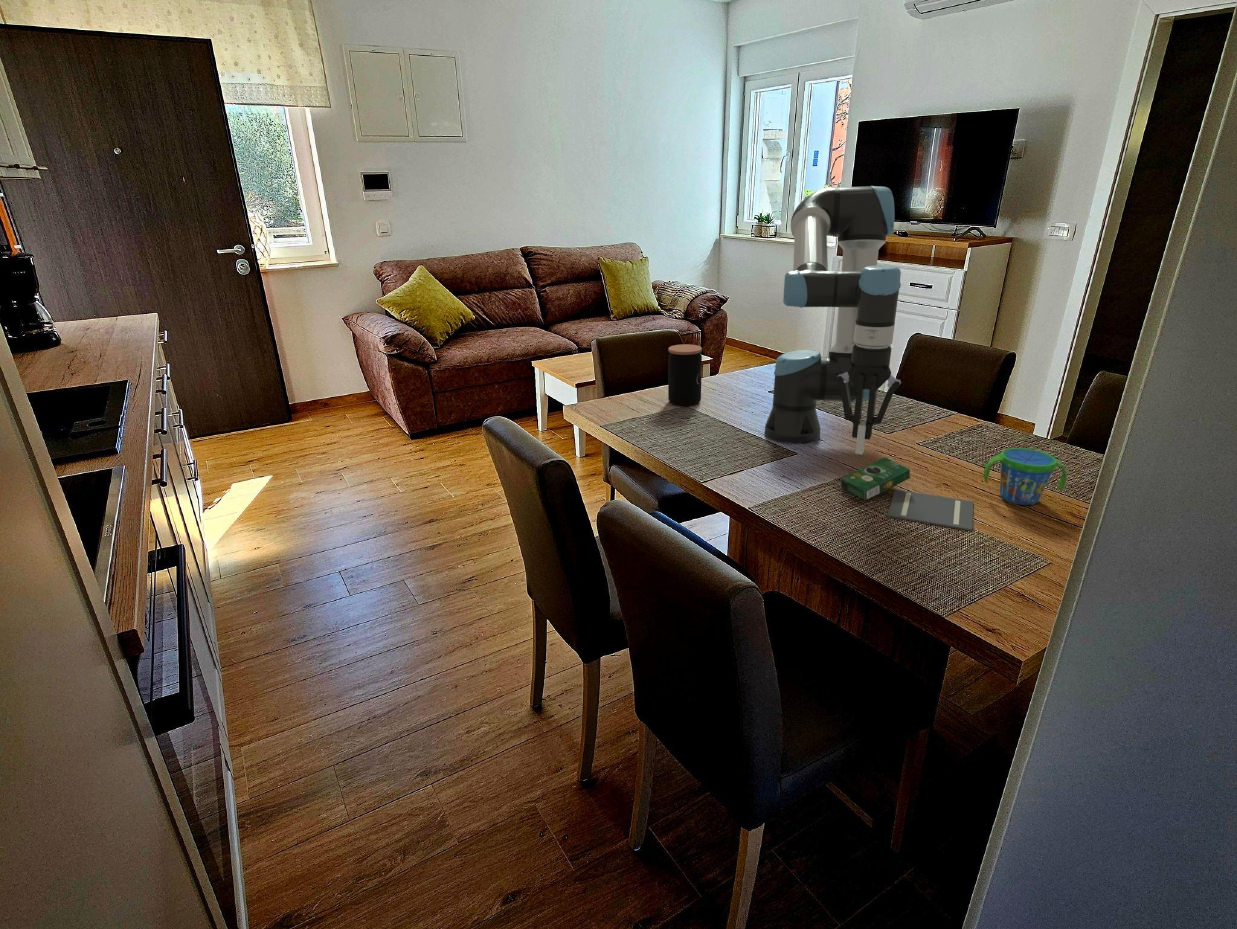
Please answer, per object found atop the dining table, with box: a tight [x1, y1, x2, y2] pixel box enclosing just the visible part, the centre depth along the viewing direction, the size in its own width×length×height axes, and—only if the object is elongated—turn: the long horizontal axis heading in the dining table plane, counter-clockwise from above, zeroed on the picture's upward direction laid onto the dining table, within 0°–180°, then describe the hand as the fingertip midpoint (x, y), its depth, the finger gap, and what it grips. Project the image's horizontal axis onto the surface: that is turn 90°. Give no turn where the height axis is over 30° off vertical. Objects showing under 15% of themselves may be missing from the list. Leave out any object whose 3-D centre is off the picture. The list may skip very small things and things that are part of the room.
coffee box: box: [840, 456, 911, 501], centre depth 153 cm, size 8×3×13 cm
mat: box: [887, 489, 974, 532], centre depth 144 cm, size 16×14×1 cm
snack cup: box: [983, 447, 1068, 506], centre depth 146 cm, size 16×10×10 cm
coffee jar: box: [667, 343, 703, 408], centre depth 216 cm, size 11×11×18 cm
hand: (859, 451), depth 146 cm, fingers closed
